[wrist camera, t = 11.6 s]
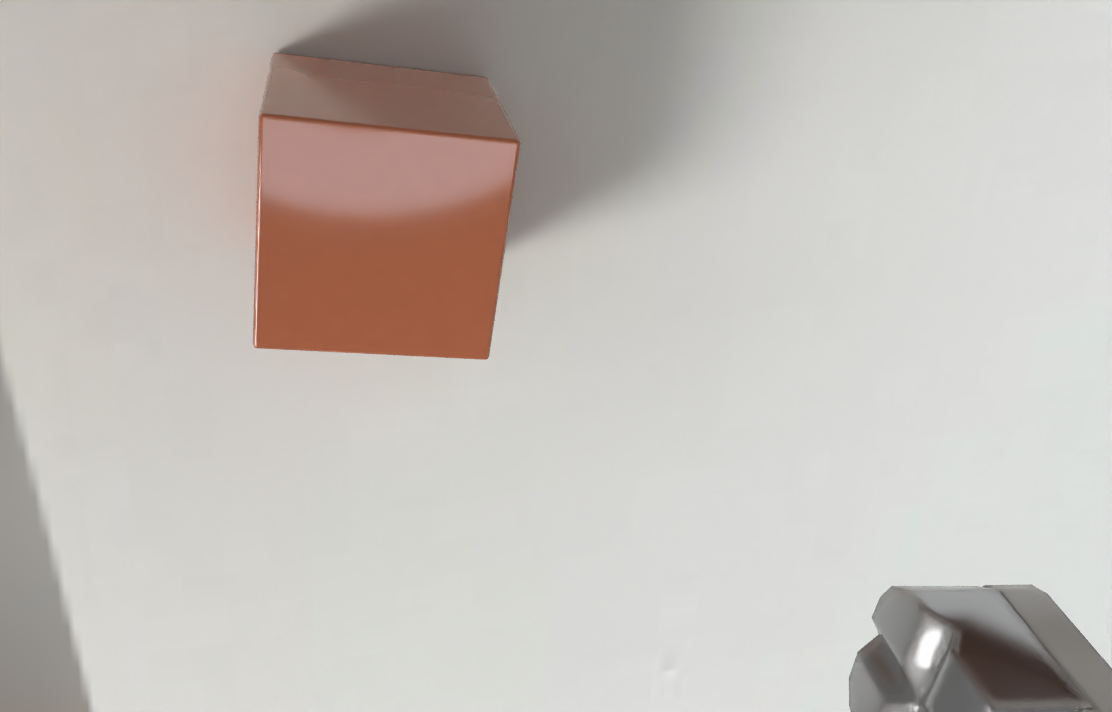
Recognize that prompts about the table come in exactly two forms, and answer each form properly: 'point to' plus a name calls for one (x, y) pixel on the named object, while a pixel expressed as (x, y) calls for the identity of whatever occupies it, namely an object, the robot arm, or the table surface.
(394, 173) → the block
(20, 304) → the table surface
